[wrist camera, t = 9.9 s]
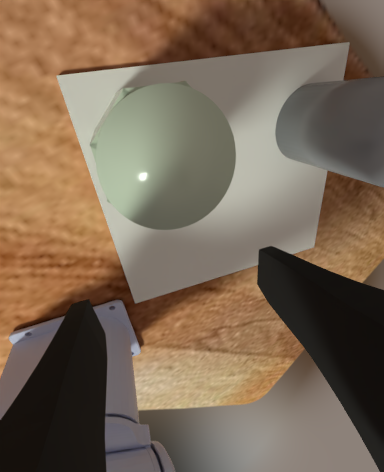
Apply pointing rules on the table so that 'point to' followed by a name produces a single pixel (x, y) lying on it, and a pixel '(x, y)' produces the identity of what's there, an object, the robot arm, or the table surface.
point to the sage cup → (164, 155)
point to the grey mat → (245, 174)
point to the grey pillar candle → (336, 127)
